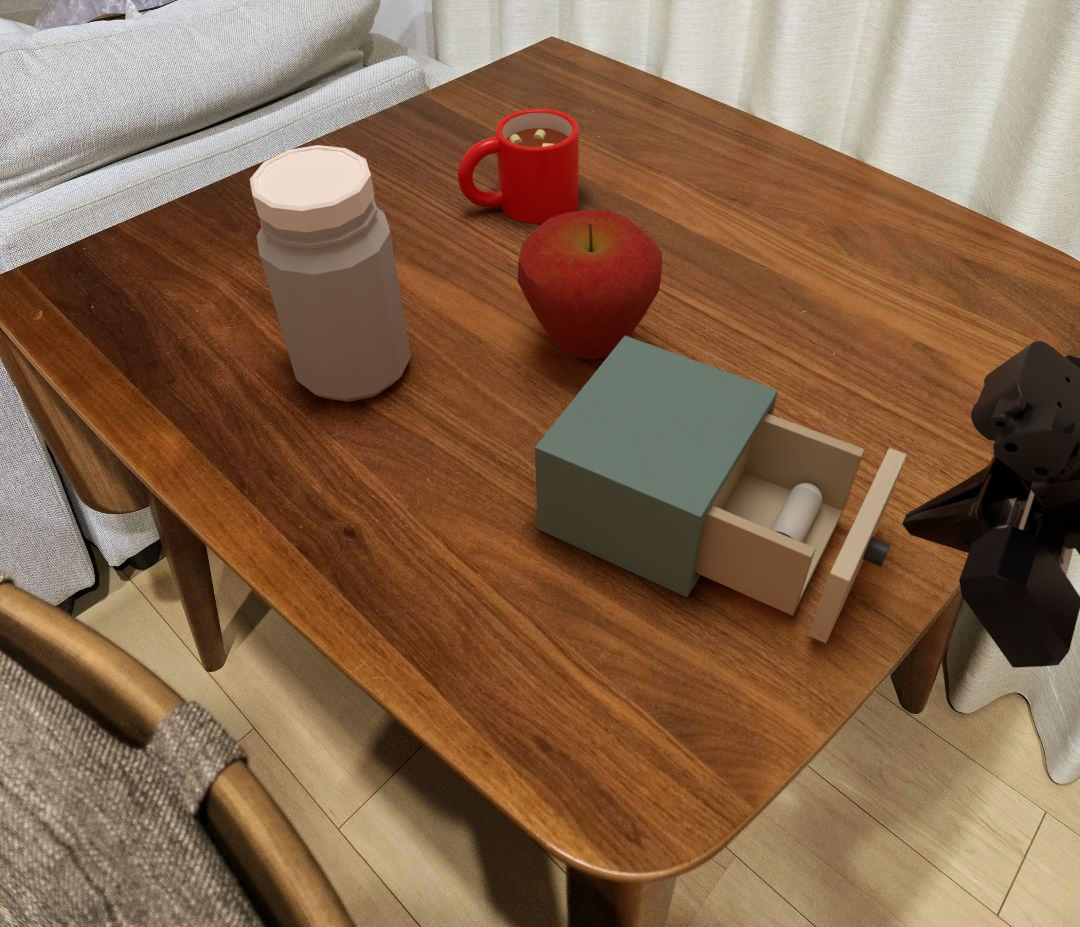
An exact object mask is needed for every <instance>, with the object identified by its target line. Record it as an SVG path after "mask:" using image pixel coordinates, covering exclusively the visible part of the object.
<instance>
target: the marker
mask: <svg viewBox="0 0 1080 927" xmlns="http://www.w3.org/2000/svg"><path fill="white" fill-rule="evenodd" d="M822 499H823V498H822V494H821V492H820V490H819V489H818V488H817V487H816V486H814V485H813V484H810V483H801V484H799V485H797V486H795V487H794V488H793V489H792V491H791V492H790V494H789V496H788V498H787V499H786V501H785V503H784V505H783V507H782V509H781V510H780V512H779V514H778V516H777V518H776V520H775V521H774V523H773V525H772V527H771V529H770V530H773V531H775V532H778V533H780V534H782V535H785V536H787V537H790V538H792V539H795V540H797V541H799V542H803V540H804V538H805V536H806V535H807V533H808V531H809V529H810V527H811V525H812V523H813V521H814V519H815V517H816V515H817V513H818V511H819V509H820V507H821V505H822Z"/></svg>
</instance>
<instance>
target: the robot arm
mask: <svg viewBox="0 0 1080 927" xmlns="http://www.w3.org/2000/svg"><path fill="white" fill-rule="evenodd" d="M983 384H984V385H983V387H982V389H981V392H980V394H979V397H978V399H977V401H976V403H975V404H974V405H973V407H972V409H971V412H970V418H971V422H972V425H973V427H974V428H975V429H976V431H977V432H978V433H979V434H980V435H981V436H982V437H983V438H984V439H986V440H988V441H991V442H994V443H993V445H992V453H993V456H992V458H991V460H990V462H989V463H988V465H986V466H985V467H984V468H982V469H980V470H979V471H978V472H975V474H973V475H971V476H969V477H968V478H966V479H965V480H963V481H961V482H960V483H958V484H956V485H954V486H953V487H951V488H949V489H947V490H945V491H944V492H942V493H940V494H938V495H936V496H935V497H934V498H931V499H929V500H928V501H926V502H924V503H923V504H921V505H919V506H917V507H916V508H914V509H912V510H910V511H908V512H907V513H906V514H905V516H904V518H903V521H902V523H901V524H902V526H903V527H904V529H905V531H906V532H907V533H908V534H909V535H910V536H912V537H916V538H918V539H922V540H925V541H929V542H931V543H935V544H937V545H941V546H943V547H944V546H945V547H947V548H950V549H953V550H957V551H960V552H963V553H967V557H966V560H965V563H964V565H963V568H962V570H961V574H960V576H959V579H958V582H959V588H960V594H961V597H962V598H963V600H964V601H965V602H966V604H967V606H968V607H969V609H970V610H971V611H972V612H973V614H974V616H975V617H976V618H977V621H979V622H980V624H981V626H982V627H983V628H984V629H985V631H986V632H987V634H988V635H989V636H990V638H991V640H992V641H993V642H994V643H995V645H996V646H997V648H998V649H999V651H1000V652H1001V654H1002V655H1003V656H1004V657H1005V659H1006V660H1007V662H1008V663H1009V665H1010V666H1011V667H1012V668H1014V669H1016V668H1017V669H1018V668H1040V667H1053V666H1060V664H1061V663H1062V661H1063V660H1064V659H1065V657H1066V656H1067V655H1068V654H1069V652H1070V649H1071V646H1072V642H1073V638H1074V633H1075V629H1076V626H1077V622H1078V618H1079V614H1080V594H1079V593H1078V591H1077V589H1076V588H1075V587H1074V585H1073V583H1072V582H1071V580H1070V579H1069V578H1068V576H1067V574H1068V571H1069V568H1070V563H1071V560H1072V555H1073V551H1074V550H1076V552H1077V553H1078V555H1079V556H1080V357H1077V356H1074V355H1071V354H1068V355H1065V356H1064V355H1063V354H1062V353H1061V352H1060V351H1058V350H1057V349H1055V348H1054V347H1053V346H1052V345H1050V344H1049V343H1048V342H1045V341H1043V340H1035V341H1033V342H1031V343H1030V344H1028V345H1027V346H1025V347H1024V348H1022V350H1020V351H1018V352H1017V353H1016V354H1014V355H1013V356H1011V357H1010V358H1009V359H1007V360H1006V361H1004V362H1003V363H1001V364H1000V365H999V366H997V367H996V368H995V369H993V370H991V372H989V373H987V374H986V376H985V377H984V380H983Z"/></svg>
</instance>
